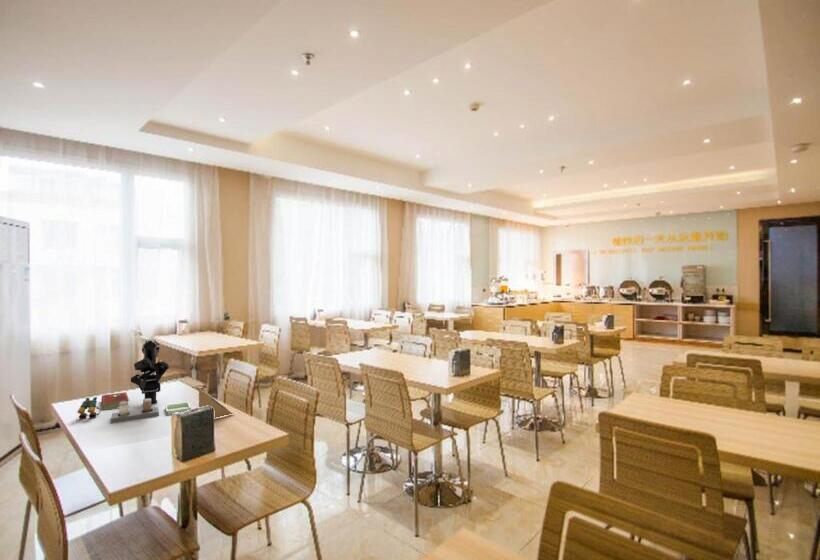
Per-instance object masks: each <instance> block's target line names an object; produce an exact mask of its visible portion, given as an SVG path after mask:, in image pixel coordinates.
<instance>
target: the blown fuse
mask: <svg viewBox="0 0 820 560" xmlns="http://www.w3.org/2000/svg"><path fill="white" fill-rule="evenodd" d="M151 408H152V404H151V398H147V399H145V398H143V399H142V409H143V413H145V412H151Z"/></svg>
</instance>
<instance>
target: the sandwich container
mask: <svg viewBox="0 0 820 560" xmlns="http://www.w3.org/2000/svg"><path fill="white" fill-rule="evenodd" d="M206 405H210V406H212V407H213V408H214V410H215V418H216V417H220V416H224V415H229V414H234V413H233V412H232V411H231V410H230V409H228V408H227V407H226V406H224V404H223V405H222V404H221V403H220V402H219V401H218V400H216V399H215V398H214V397H212V395H211V394H209V393H207V392H206V391H204V390H203V389H201V388H199V389H198V408H199V407H202V406H206Z"/></svg>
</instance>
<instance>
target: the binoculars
mask: <svg viewBox="0 0 820 560" xmlns="http://www.w3.org/2000/svg"><path fill="white" fill-rule="evenodd" d="M97 399H98V397H97V396H94V397H93V399H91V400H90V398H89V397H86V398H85V400H83V402H82V403H81V404H80V407H79V408H78V410H77V411H76V413H77V414H79V416H78V418H79V419H87V417H89V418H96V417H97V416H98V415H100V414H101V412H102V408H101V407H98V406H97V401H98V400H97ZM86 410H87V411H86ZM96 410H99V412H98V413H97V412H96ZM85 411H86V412H87V413H89V414H87V413H86V412H85Z"/></svg>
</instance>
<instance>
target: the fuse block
mask: <svg viewBox="0 0 820 560" xmlns="http://www.w3.org/2000/svg"><path fill="white" fill-rule="evenodd" d="M158 416H160V411H159V406H154V407H151V412H145V413H143V408H141V409H133V410H128V415H124V416H119V411H117V412H112V414H111V417H110V418H111V419H110V424H113V423H120V422H121V423H122V422H126V421H132V420H133V421H134V420H140V419H147V418H155V417H158Z"/></svg>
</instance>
